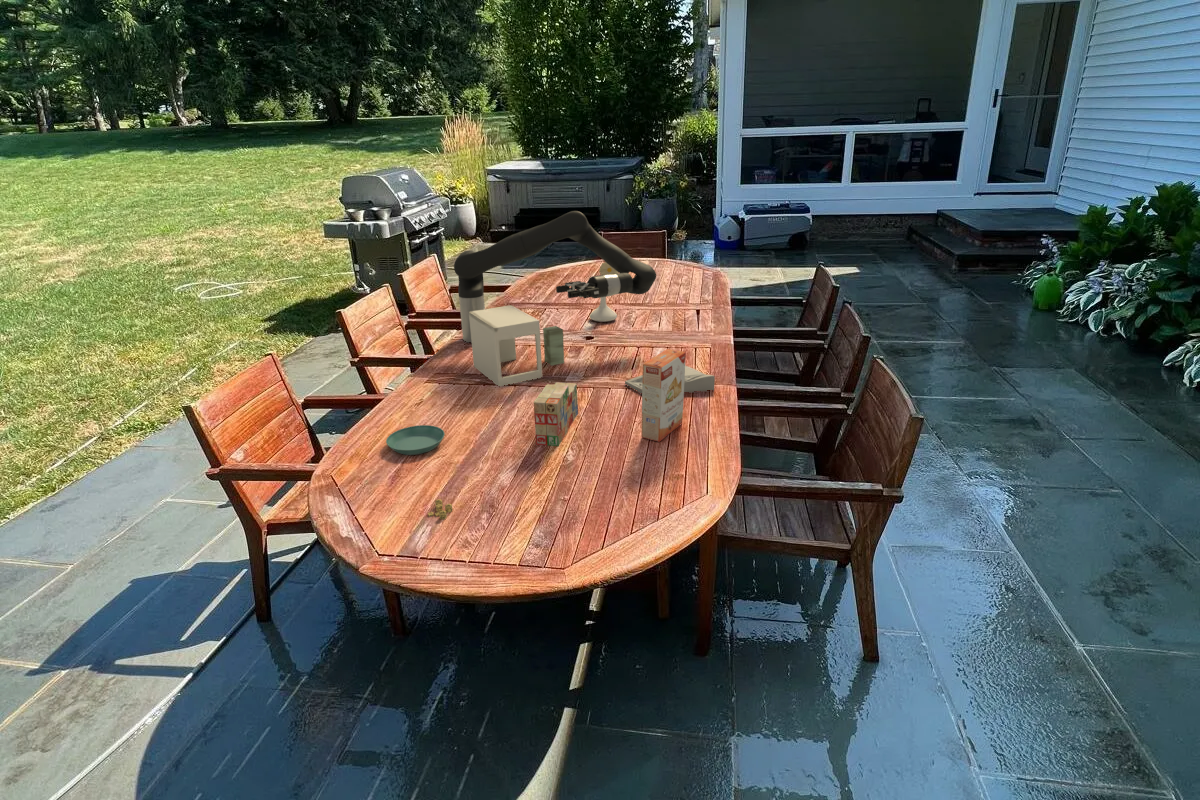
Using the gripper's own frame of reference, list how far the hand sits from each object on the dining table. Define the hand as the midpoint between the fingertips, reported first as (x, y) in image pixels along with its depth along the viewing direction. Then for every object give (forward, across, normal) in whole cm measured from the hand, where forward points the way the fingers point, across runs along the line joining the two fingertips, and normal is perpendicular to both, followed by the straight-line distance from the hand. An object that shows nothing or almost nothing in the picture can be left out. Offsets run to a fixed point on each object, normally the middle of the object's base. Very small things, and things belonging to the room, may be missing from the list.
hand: (562, 292), depth 224 cm
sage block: (+4, 0, +24) cm, 24 cm away
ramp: (-15, +40, +25) cm, 50 cm away
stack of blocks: (+27, +48, +24) cm, 61 cm away
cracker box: (+4, +65, +24) cm, 69 cm away
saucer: (+63, +38, +24) cm, 78 cm away
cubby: (+21, 0, +24) cm, 32 cm away
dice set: (+68, +73, +25) cm, 103 cm away
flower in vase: (-37, -35, +24) cm, 56 cm away
